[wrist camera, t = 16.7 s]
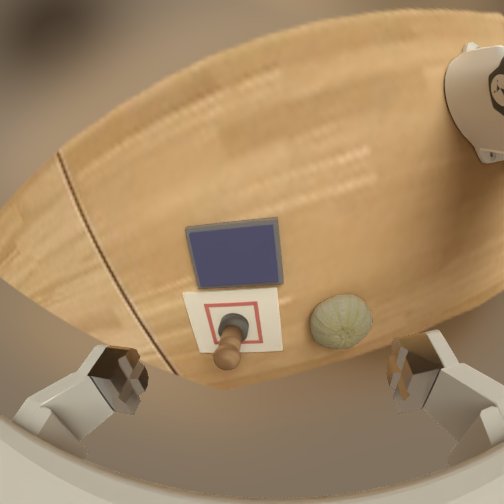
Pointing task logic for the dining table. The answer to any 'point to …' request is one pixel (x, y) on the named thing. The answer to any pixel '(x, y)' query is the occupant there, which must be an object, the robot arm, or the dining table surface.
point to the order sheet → (241, 302)
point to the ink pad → (236, 253)
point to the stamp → (230, 340)
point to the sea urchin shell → (341, 321)
